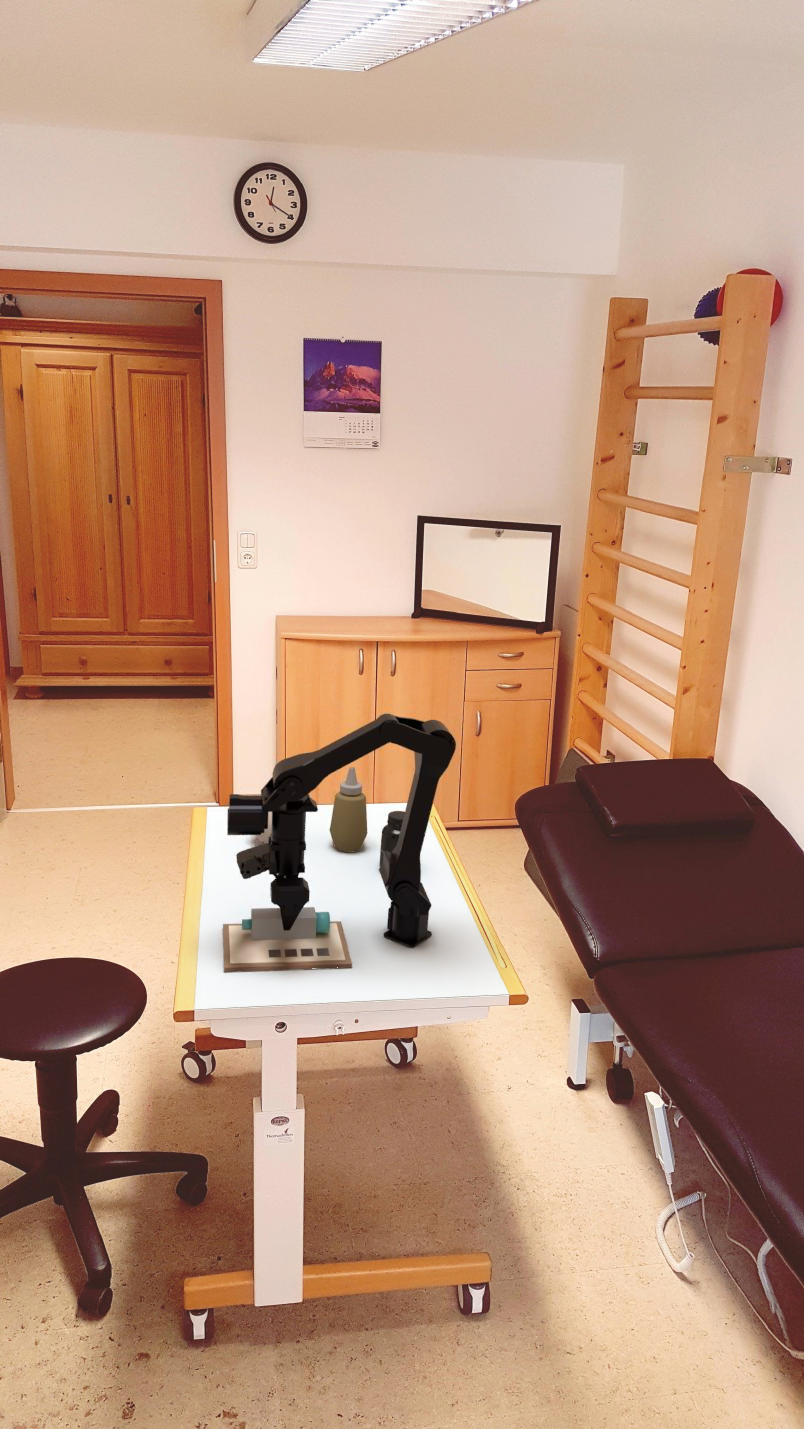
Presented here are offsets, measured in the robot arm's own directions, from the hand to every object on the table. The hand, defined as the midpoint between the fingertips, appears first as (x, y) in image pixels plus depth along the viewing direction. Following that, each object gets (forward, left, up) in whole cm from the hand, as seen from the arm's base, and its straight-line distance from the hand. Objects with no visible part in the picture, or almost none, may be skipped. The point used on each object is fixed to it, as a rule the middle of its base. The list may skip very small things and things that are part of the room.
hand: (284, 917), depth 176 cm
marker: (0, 0, -3) cm, 3 cm away
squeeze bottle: (+16, -39, -4) cm, 43 cm away
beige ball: (+29, -30, -4) cm, 43 cm away
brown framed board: (-2, +2, -4) cm, 5 cm away
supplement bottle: (+2, -37, -4) cm, 38 cm away
